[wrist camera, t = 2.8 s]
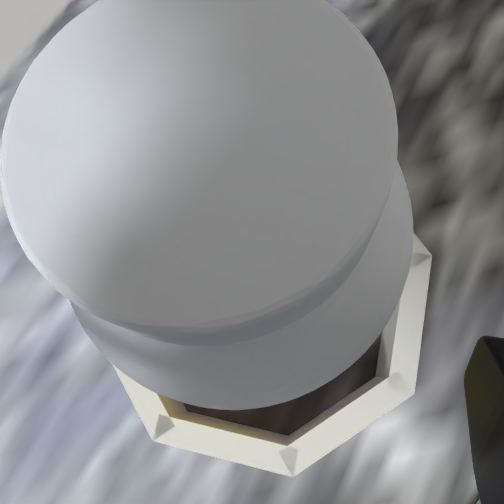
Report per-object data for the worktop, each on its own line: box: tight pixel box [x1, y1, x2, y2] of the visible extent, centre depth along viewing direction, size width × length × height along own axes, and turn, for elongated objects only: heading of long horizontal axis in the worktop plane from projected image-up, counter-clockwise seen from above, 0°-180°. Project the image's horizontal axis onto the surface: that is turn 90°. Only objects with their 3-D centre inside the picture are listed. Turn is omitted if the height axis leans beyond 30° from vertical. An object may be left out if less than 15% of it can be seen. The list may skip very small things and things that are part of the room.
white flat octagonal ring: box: [112, 232, 432, 477], centre depth 16 cm, size 11×11×2 cm
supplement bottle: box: [0, 0, 413, 410], centre depth 11 cm, size 7×7×13 cm
